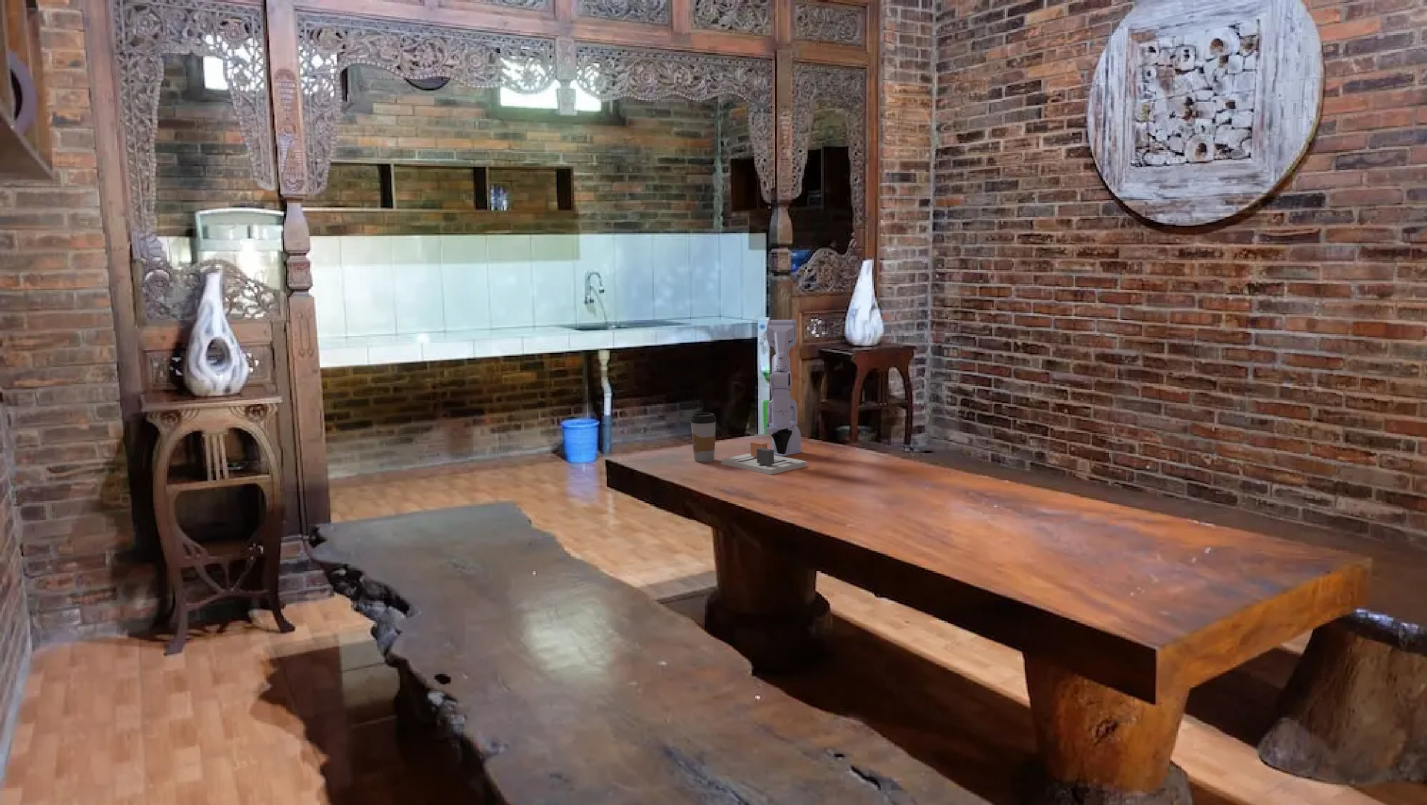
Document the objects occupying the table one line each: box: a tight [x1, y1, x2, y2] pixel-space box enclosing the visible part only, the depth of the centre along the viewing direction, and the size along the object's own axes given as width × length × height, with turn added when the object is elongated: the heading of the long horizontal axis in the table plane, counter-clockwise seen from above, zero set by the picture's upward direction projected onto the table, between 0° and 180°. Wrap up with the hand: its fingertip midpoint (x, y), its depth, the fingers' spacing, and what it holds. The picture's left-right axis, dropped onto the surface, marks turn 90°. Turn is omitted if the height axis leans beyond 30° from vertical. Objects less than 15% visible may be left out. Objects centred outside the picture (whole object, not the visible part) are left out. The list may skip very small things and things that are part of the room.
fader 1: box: [750, 441, 768, 457], centre depth 313 cm, size 2×5×4 cm, turn 42°
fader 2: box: [757, 448, 774, 465], centre depth 303 cm, size 2×5×4 cm, turn 42°
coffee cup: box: [690, 412, 717, 463], centre depth 317 cm, size 8×8×15 cm
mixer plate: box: [720, 452, 808, 475], centre depth 309 cm, size 16×22×2 cm
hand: (781, 453), depth 307 cm, fingers closed
